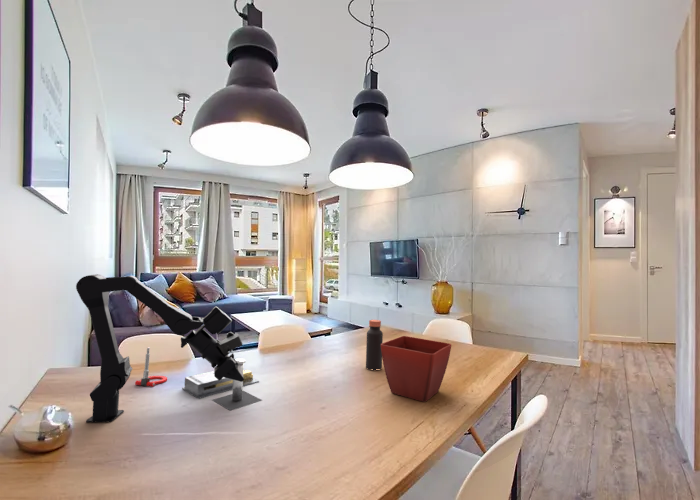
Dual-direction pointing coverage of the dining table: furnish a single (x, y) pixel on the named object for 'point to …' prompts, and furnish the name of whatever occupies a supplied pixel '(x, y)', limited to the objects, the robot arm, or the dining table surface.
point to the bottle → (374, 345)
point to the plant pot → (415, 366)
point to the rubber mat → (232, 405)
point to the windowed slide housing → (213, 384)
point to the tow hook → (146, 380)
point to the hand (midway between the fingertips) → (242, 378)
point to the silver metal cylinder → (237, 384)
